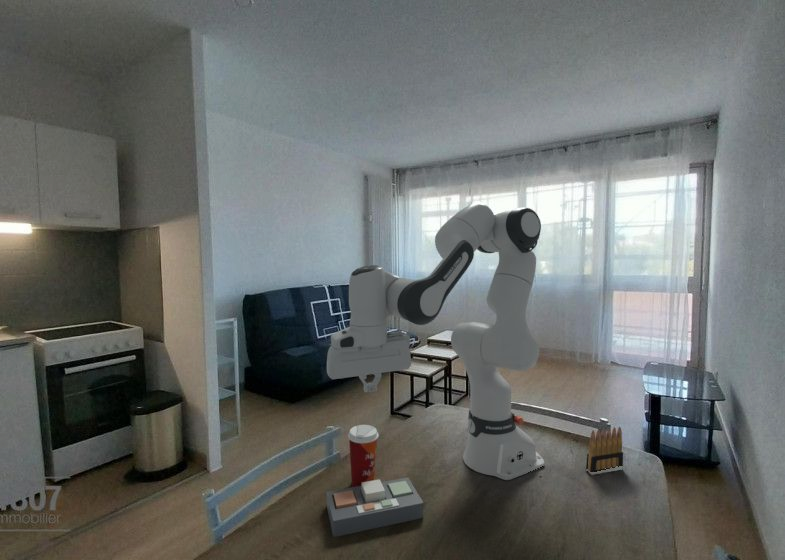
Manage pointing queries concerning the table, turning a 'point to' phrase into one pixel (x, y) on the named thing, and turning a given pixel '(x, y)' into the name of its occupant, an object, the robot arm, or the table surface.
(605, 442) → the ammunition clip
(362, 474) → the paper cup
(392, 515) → the keypad housing
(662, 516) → the table surface
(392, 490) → the key sage
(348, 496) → the key terracotta
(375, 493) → the key white
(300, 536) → the table surface
